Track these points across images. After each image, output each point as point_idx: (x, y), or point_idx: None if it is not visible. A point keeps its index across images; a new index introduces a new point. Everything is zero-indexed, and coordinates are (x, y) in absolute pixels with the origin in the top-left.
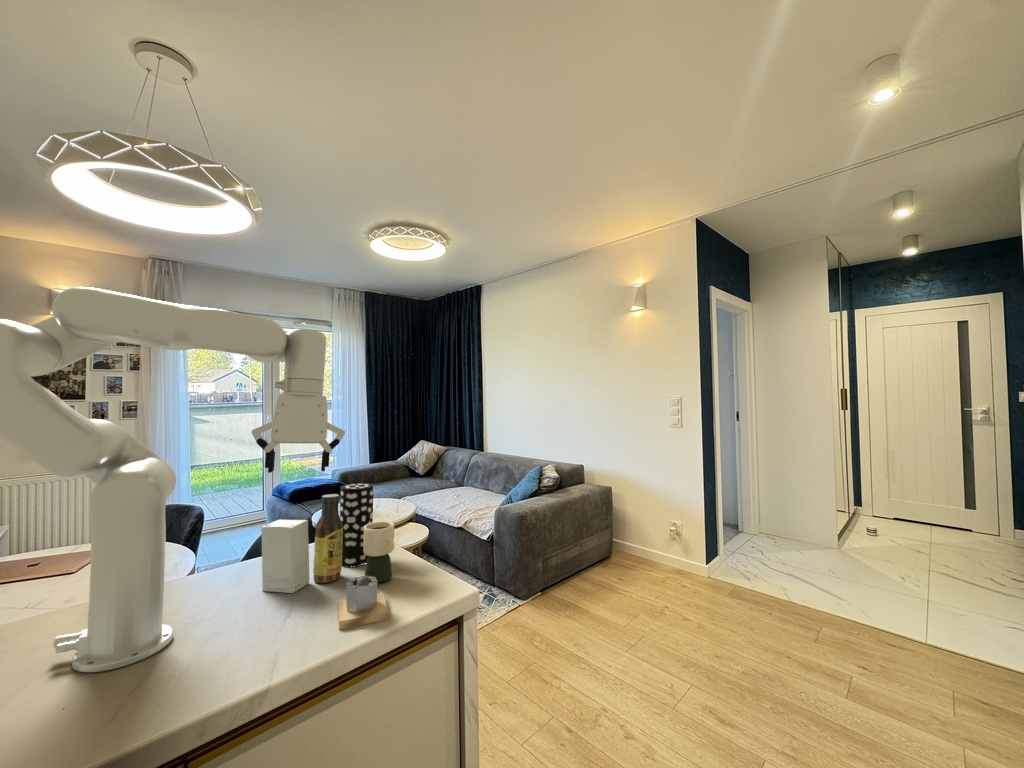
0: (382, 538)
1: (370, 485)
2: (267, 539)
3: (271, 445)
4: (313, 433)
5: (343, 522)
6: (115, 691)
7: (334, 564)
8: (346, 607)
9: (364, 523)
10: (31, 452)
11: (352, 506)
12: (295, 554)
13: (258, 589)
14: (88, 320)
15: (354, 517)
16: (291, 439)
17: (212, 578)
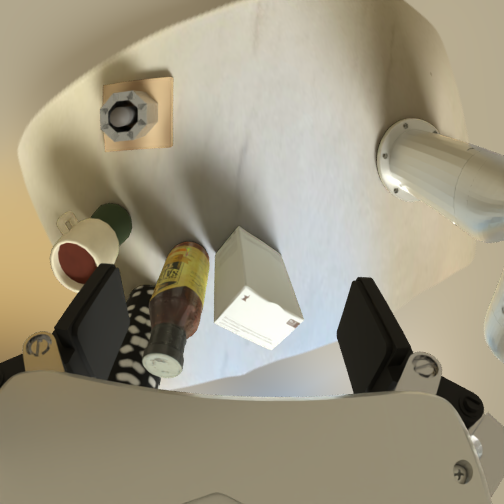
0: (73, 230)
1: None
2: (289, 297)
3: (418, 389)
4: (57, 456)
5: None
6: (403, 73)
7: (173, 256)
8: (157, 116)
9: None
10: None
11: (130, 360)
12: (236, 259)
13: (286, 263)
14: None
15: (132, 342)
16: (306, 422)
17: (339, 319)
